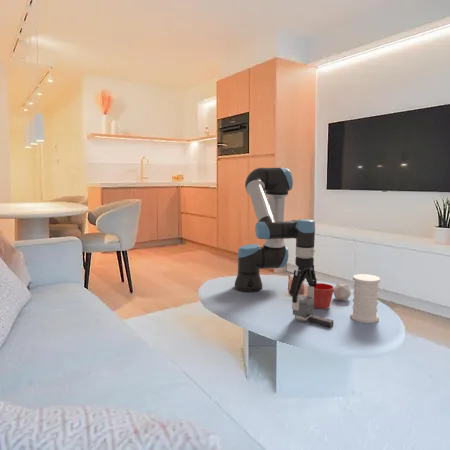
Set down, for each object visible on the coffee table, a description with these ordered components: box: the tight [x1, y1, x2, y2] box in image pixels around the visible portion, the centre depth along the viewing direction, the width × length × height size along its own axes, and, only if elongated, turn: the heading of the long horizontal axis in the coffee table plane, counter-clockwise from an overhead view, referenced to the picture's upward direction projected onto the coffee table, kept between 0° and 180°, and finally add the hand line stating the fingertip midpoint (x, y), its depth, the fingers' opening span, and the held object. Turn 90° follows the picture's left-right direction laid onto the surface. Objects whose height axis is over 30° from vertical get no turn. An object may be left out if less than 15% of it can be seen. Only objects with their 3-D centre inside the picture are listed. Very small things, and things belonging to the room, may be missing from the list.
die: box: [333, 282, 352, 302], centre depth 190 cm, size 8×9×10 cm
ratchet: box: [294, 314, 334, 329], centre depth 162 cm, size 16×7×6 cm, turn 51°
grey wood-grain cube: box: [292, 294, 315, 318], centre depth 165 cm, size 6×6×7 cm
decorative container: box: [349, 273, 381, 324], centre depth 166 cm, size 12×12×18 cm
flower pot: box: [314, 282, 335, 310], centre depth 181 cm, size 11×11×10 cm
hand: (303, 305), depth 165 cm, fingers open, 13 cm apart
